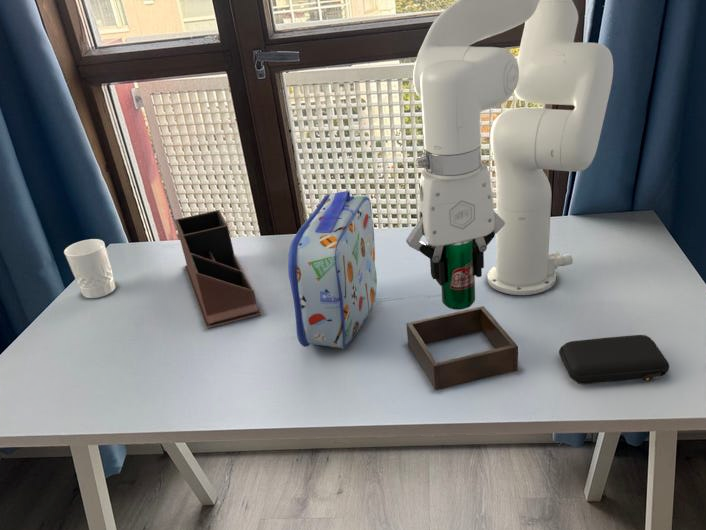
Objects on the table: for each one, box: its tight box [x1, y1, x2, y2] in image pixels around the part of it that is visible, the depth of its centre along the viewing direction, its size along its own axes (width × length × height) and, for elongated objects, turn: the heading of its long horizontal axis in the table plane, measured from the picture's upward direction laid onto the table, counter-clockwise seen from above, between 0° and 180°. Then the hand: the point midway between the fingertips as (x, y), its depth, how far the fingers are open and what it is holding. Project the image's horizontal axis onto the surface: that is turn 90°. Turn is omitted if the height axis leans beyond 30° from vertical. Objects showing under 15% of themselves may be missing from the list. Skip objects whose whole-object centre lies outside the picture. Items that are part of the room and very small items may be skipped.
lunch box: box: [287, 190, 378, 349], centre depth 121 cm, size 28×10×22 cm, turn 168°
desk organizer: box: [174, 209, 262, 329], centre depth 139 cm, size 10×29×11 cm, turn 20°
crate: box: [405, 305, 519, 391], centre depth 112 cm, size 14×14×4 cm
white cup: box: [63, 238, 116, 299], centre depth 144 cm, size 8×8×10 cm
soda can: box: [440, 239, 476, 311], centre depth 105 cm, size 5×5×12 cm
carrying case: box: [558, 334, 670, 385], centre depth 106 cm, size 11×3×15 cm
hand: (457, 276), depth 106 cm, fingers closed on soda can, 5 cm apart
